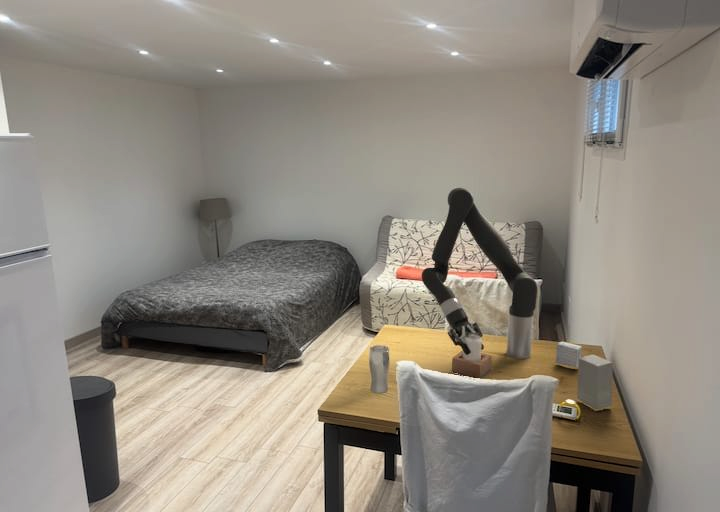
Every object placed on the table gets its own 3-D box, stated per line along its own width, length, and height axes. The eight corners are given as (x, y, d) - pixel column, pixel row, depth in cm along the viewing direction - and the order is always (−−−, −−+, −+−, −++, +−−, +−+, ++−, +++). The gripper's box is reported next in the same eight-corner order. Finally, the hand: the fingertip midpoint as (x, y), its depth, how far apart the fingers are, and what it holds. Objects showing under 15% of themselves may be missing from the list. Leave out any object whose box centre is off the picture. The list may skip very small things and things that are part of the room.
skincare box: (611, 409, 159) (616, 362, 156) (593, 413, 157) (598, 366, 153) (590, 397, 167) (595, 352, 164) (573, 401, 164) (578, 355, 161)
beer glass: (382, 396, 168) (383, 354, 165) (365, 391, 171) (365, 349, 168) (392, 388, 173) (393, 347, 170) (375, 383, 177) (375, 343, 174)
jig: (463, 363, 194) (464, 348, 193) (490, 370, 188) (491, 355, 186) (451, 373, 185) (452, 358, 184) (479, 380, 179) (480, 365, 178)
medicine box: (580, 367, 190) (582, 346, 188) (576, 371, 187) (578, 349, 185) (559, 361, 195) (561, 340, 194) (555, 365, 192) (556, 344, 191)
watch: (579, 420, 153) (582, 402, 152) (578, 424, 151) (581, 406, 150) (558, 414, 156) (561, 396, 155) (557, 418, 154) (560, 400, 152)
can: (480, 370, 182) (482, 339, 180) (462, 368, 184) (463, 337, 181) (480, 363, 189) (481, 332, 186) (462, 361, 190) (463, 331, 187)
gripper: (445, 311, 184) (467, 351, 177) (472, 304, 192) (494, 343, 185) (434, 320, 189) (455, 360, 182) (461, 314, 197) (483, 351, 190)
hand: (475, 351), depth 184 cm, fingers closed on can, 6 cm apart
